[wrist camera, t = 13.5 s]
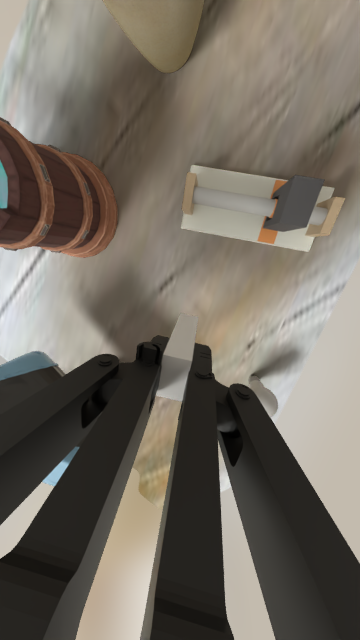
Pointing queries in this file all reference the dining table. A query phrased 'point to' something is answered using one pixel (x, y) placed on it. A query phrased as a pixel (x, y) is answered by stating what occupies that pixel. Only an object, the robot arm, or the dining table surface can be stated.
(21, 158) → the mug
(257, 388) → the lightbulb
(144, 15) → the plant pot
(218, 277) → the dining table surface
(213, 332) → the dining table surface
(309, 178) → the dark grey slider block
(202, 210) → the rail
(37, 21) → the dining table surface
